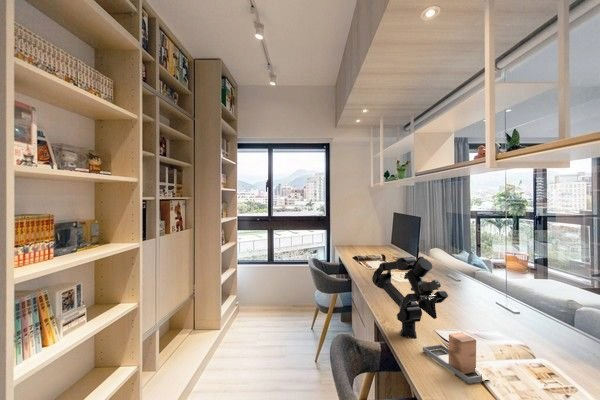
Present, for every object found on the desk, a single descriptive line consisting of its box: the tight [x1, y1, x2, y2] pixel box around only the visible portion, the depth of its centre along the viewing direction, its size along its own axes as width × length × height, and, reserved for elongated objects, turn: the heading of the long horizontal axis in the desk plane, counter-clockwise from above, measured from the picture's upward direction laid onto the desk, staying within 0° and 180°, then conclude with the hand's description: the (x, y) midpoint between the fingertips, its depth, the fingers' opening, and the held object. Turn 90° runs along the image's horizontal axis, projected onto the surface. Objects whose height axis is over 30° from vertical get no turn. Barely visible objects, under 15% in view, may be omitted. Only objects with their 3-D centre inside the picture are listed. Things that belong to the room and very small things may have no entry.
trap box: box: [422, 343, 483, 386], centre depth 110 cm, size 22×9×2 cm, turn 17°
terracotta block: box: [448, 332, 477, 374], centre depth 106 cm, size 6×6×11 cm
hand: (435, 318), depth 119 cm, fingers closed
